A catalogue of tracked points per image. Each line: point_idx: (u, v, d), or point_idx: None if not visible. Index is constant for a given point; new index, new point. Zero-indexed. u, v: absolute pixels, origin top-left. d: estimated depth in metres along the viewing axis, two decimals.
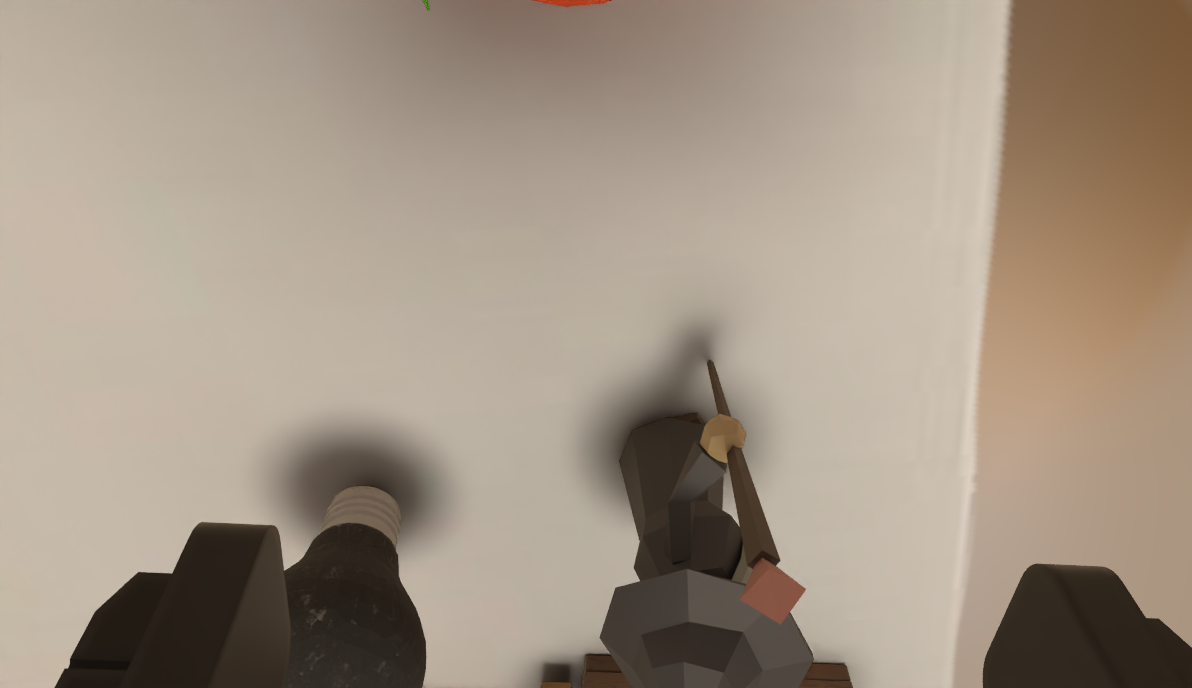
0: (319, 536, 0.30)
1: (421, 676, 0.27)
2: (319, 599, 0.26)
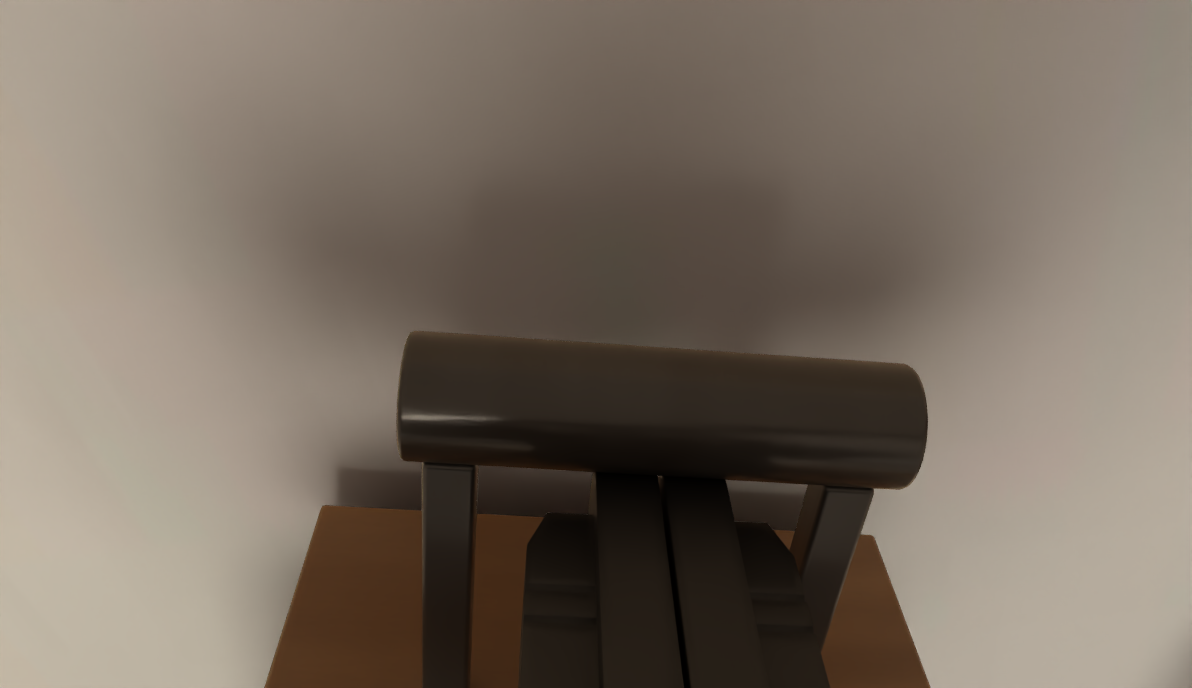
0: None
1: None
2: None
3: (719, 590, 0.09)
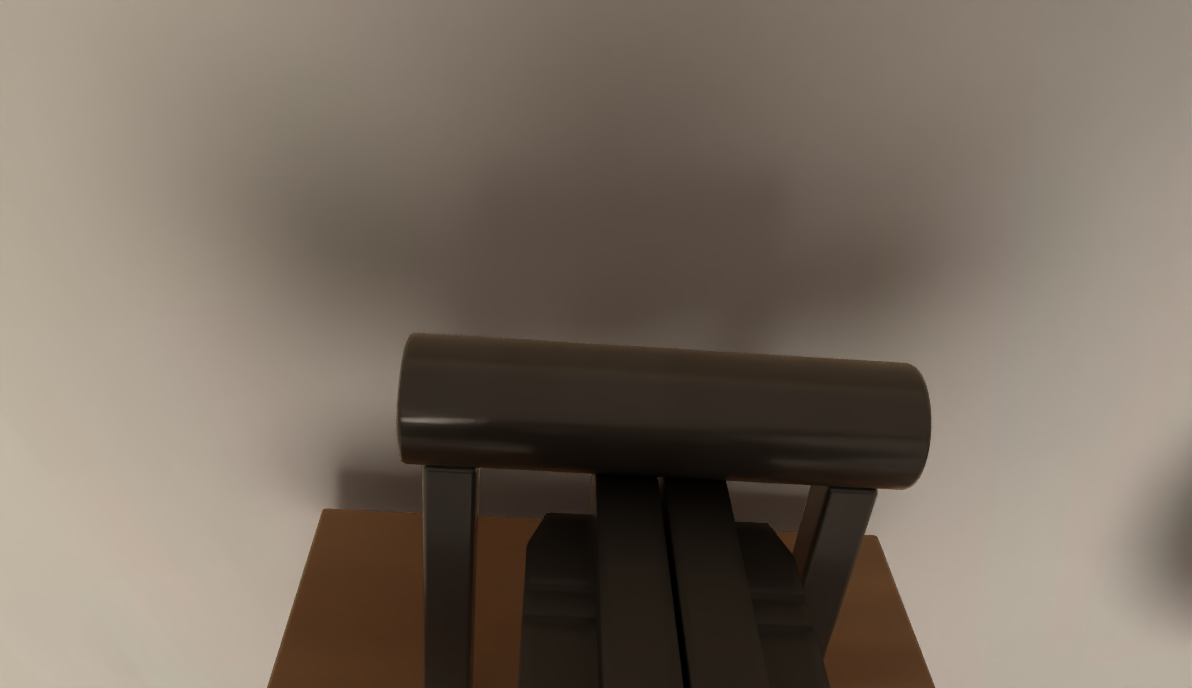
0: None
1: None
2: None
3: (719, 590, 0.09)
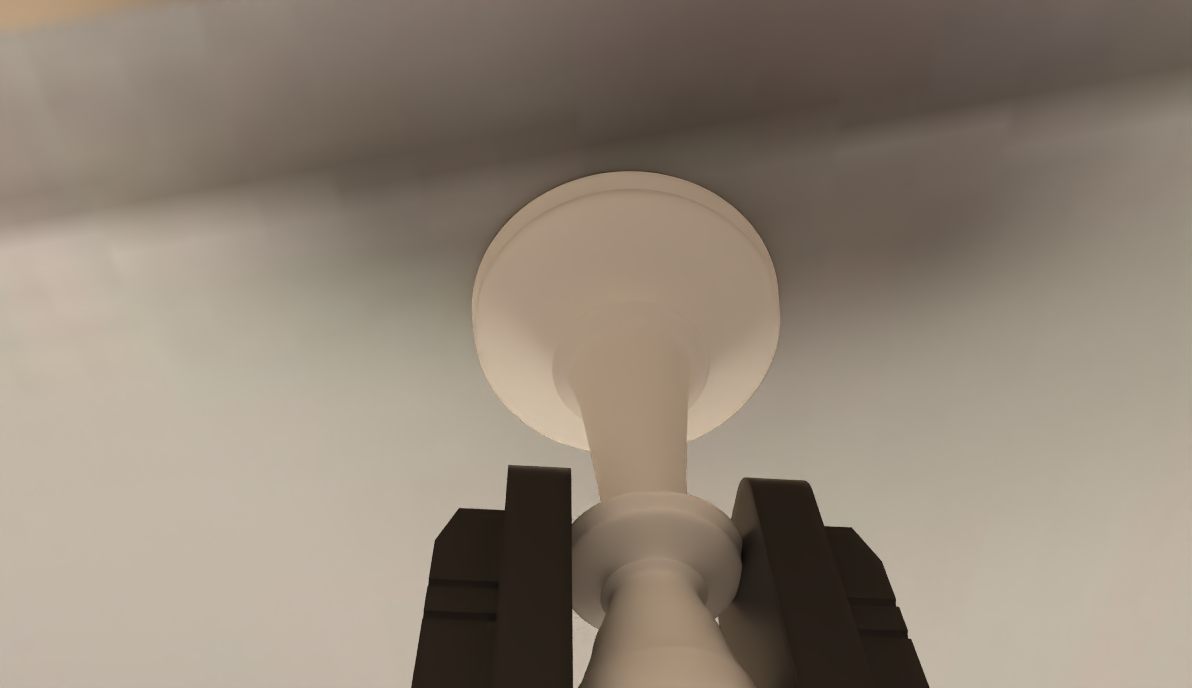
0: None
1: None
2: None
3: (817, 595, 0.09)
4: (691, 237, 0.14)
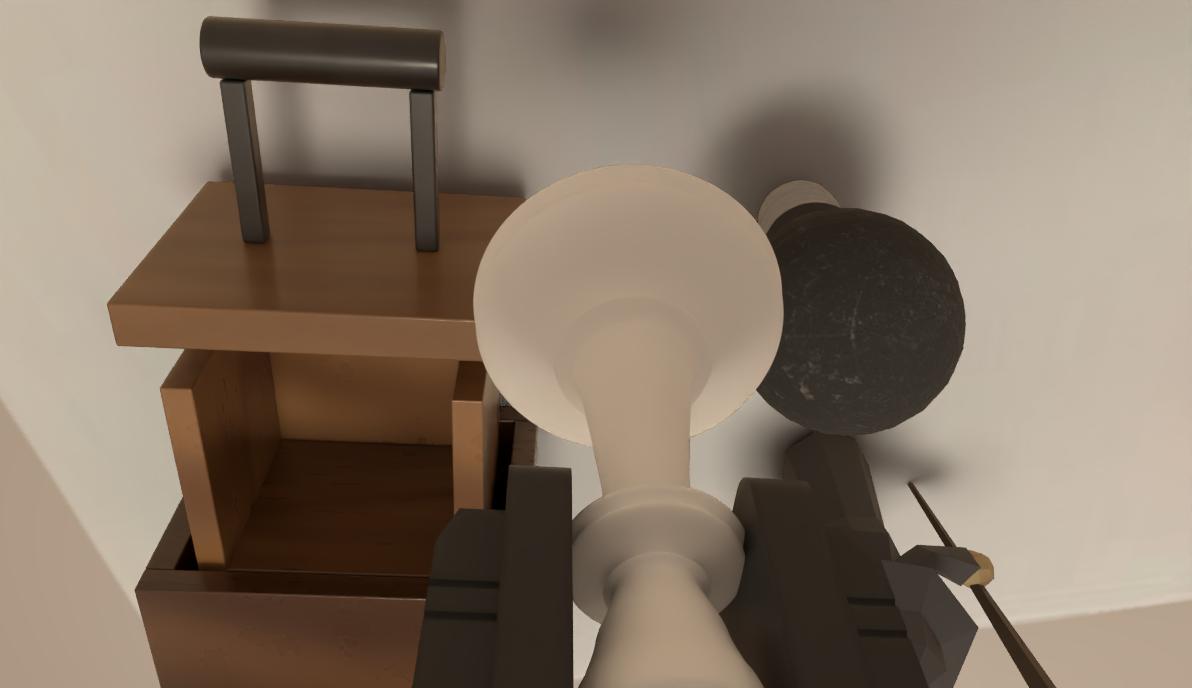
0: None
1: None
2: None
3: (816, 595, 0.09)
4: (694, 231, 0.14)
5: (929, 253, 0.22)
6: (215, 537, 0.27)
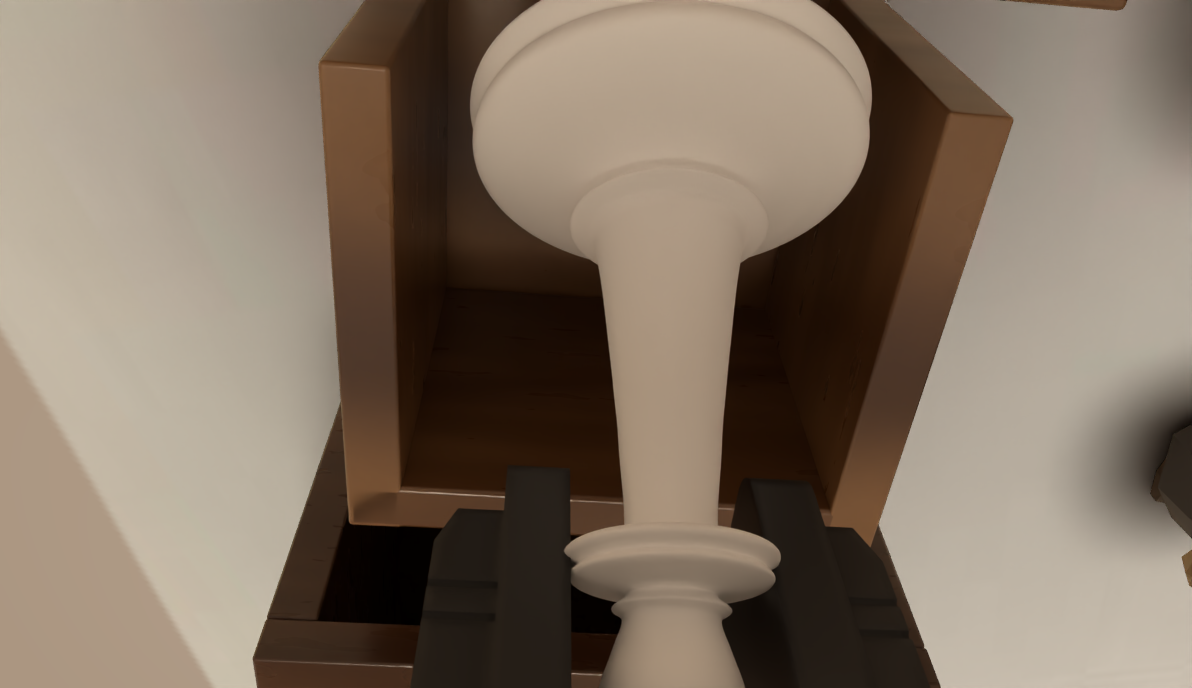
0: None
1: None
2: None
3: (818, 595, 0.09)
4: (763, 77, 0.10)
5: None
6: (388, 421, 0.13)
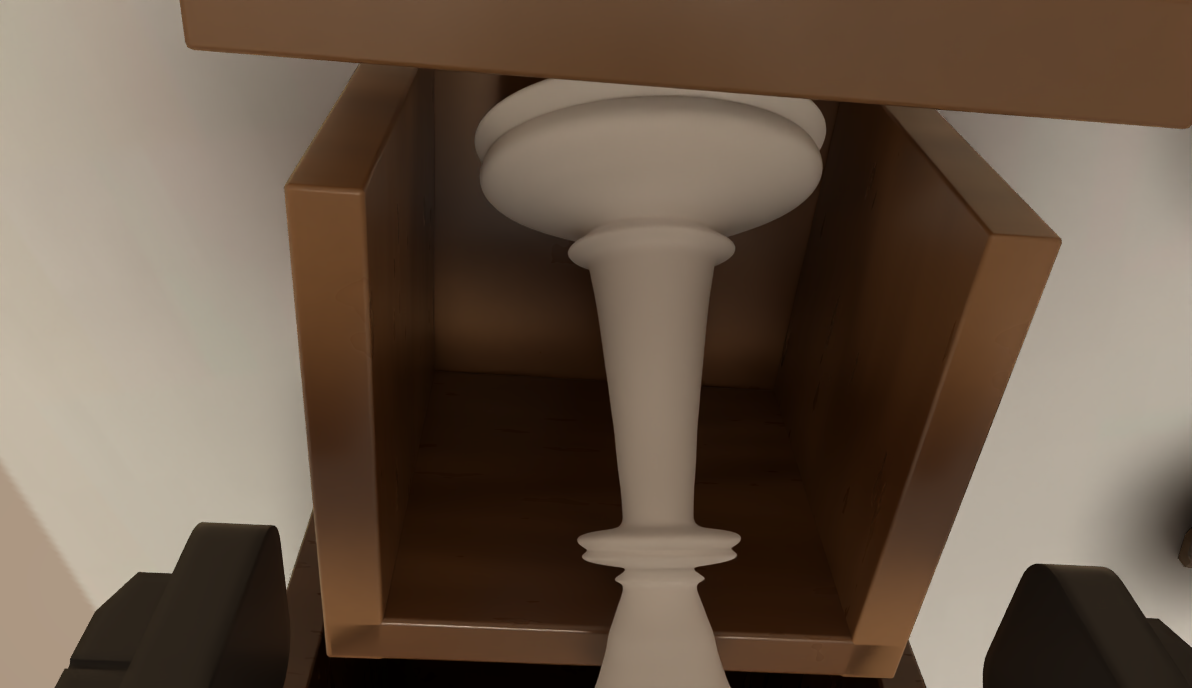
0: None
1: None
2: None
3: None
4: (739, 155, 0.12)
5: None
6: (369, 553, 0.12)
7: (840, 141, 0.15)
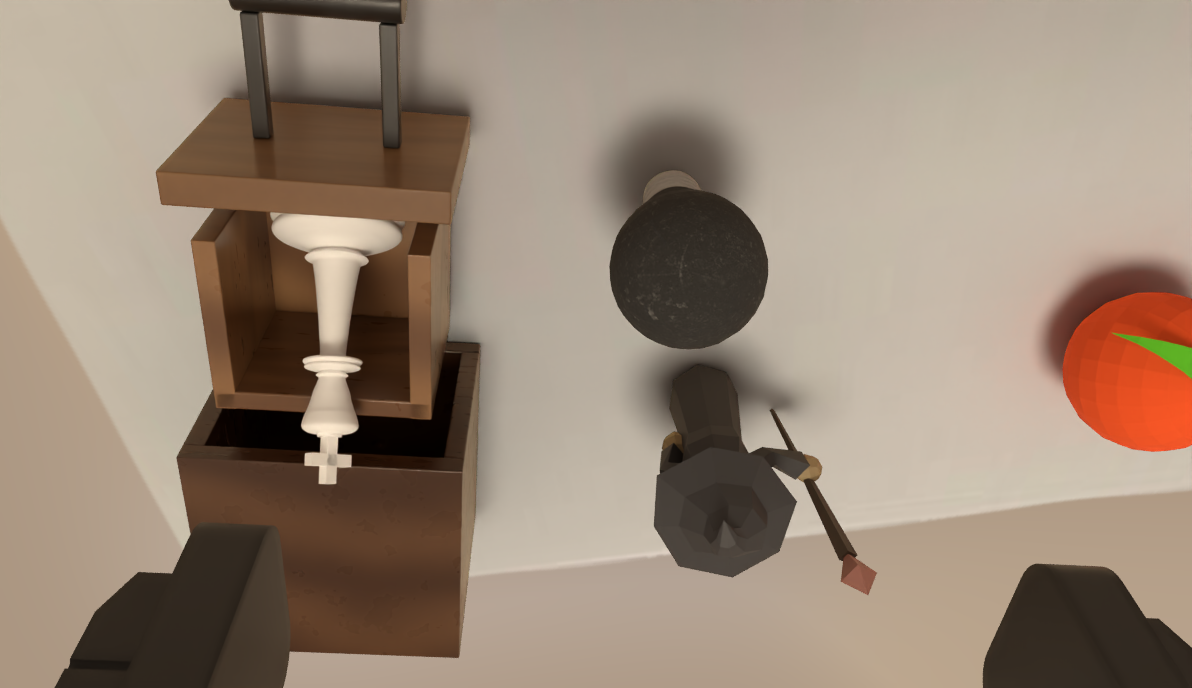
0: None
1: None
2: None
3: None
4: (353, 226, 0.35)
5: (739, 220, 0.33)
6: (227, 364, 0.35)
7: None
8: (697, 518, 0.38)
